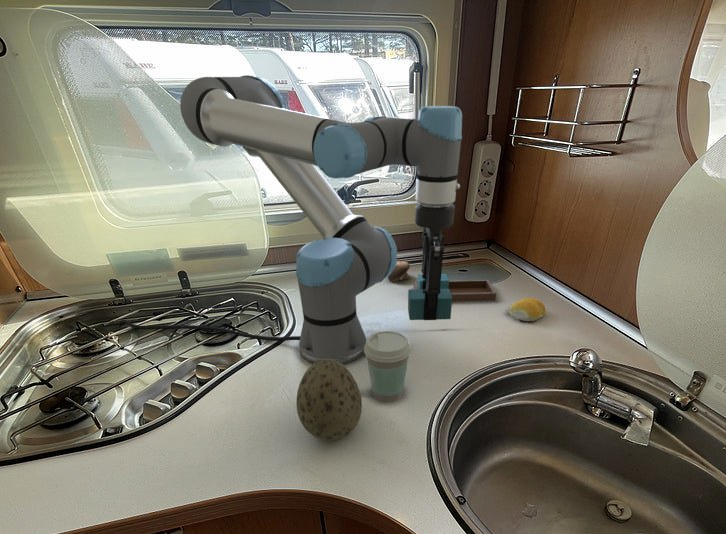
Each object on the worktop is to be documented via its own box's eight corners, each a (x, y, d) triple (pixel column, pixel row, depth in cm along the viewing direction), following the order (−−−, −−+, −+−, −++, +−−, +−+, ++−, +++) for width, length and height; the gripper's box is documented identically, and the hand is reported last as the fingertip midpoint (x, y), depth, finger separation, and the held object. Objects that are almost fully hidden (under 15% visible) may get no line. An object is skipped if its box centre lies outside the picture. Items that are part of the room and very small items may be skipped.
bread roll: (549, 313, 110) (552, 299, 107) (532, 325, 105) (535, 310, 102) (520, 304, 114) (523, 290, 112) (503, 315, 109) (505, 301, 107)
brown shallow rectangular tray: (416, 303, 116) (417, 295, 114) (413, 289, 123) (414, 281, 122) (495, 301, 116) (496, 293, 114) (487, 287, 124) (488, 279, 122)
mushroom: (420, 268, 128) (408, 252, 125) (408, 286, 124) (395, 270, 121) (403, 274, 134) (391, 259, 131) (391, 292, 131) (378, 276, 128)
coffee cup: (380, 376, 88) (379, 325, 81) (417, 388, 84) (419, 336, 77) (357, 398, 82) (354, 345, 75) (395, 412, 78) (396, 358, 71)
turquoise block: (418, 298, 117) (419, 281, 114) (417, 291, 121) (417, 274, 118) (447, 297, 117) (449, 280, 114) (445, 290, 121) (446, 273, 118)
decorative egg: (369, 416, 77) (366, 346, 69) (355, 459, 69) (349, 385, 60) (313, 410, 79) (303, 341, 70) (292, 451, 71) (278, 378, 62)
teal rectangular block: (409, 320, 92) (410, 299, 89) (408, 309, 96) (408, 289, 93) (450, 319, 92) (452, 298, 89) (447, 309, 96) (449, 288, 93)
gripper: (463, 215, 73) (451, 333, 87) (448, 192, 88) (439, 296, 101) (420, 216, 73) (414, 333, 87) (412, 192, 87) (408, 296, 101)
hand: (428, 313), depth 94 cm, fingers closed on teal rectangular block, 5 cm apart
